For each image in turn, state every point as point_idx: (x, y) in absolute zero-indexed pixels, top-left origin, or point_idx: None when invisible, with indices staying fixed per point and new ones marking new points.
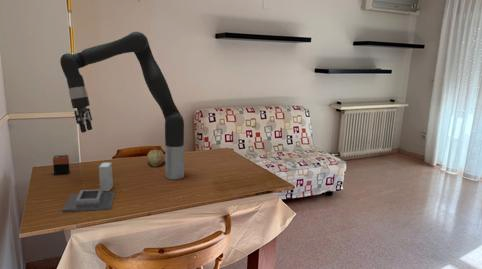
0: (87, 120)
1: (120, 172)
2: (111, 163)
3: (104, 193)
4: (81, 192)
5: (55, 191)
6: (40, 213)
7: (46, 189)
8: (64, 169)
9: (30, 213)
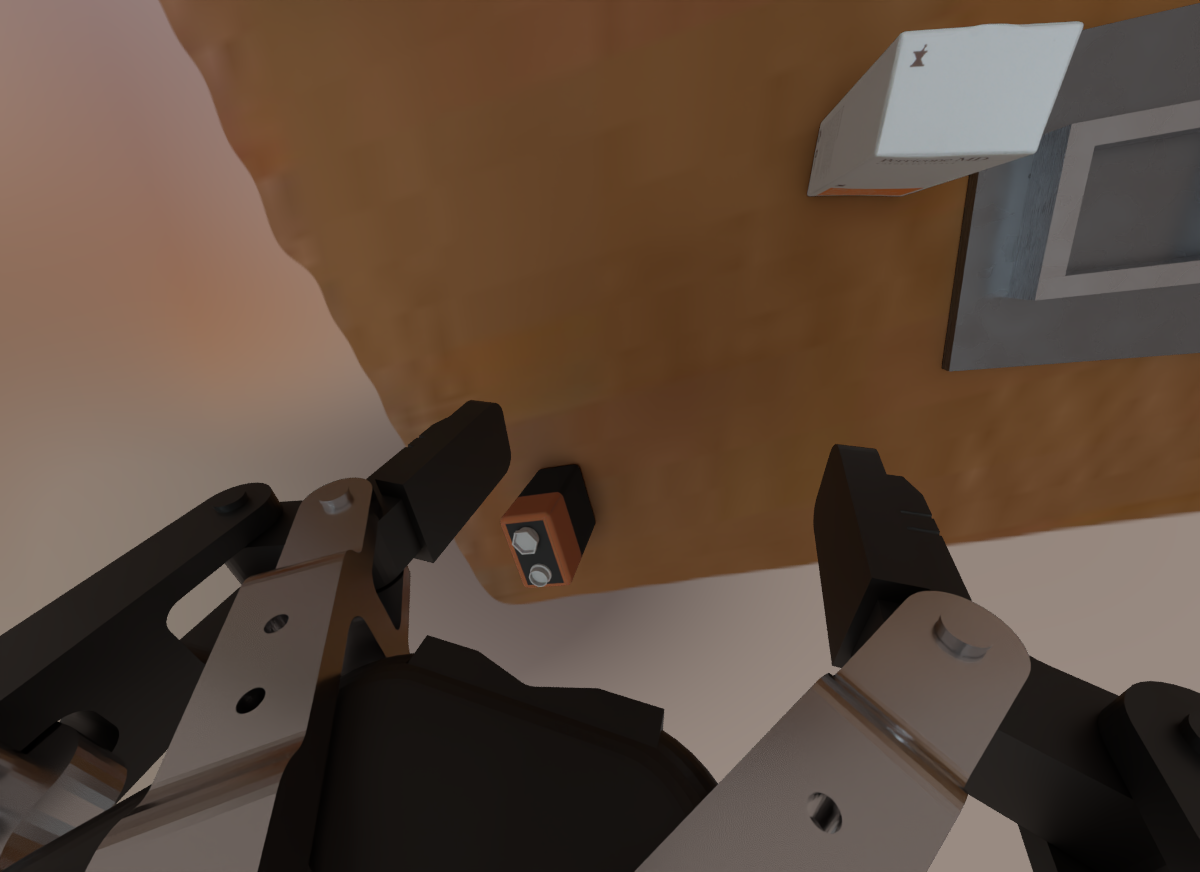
0: (373, 566)
1: (533, 152)
2: (908, 32)
3: None
4: (1091, 281)
5: None
6: (1189, 459)
7: (799, 512)
8: (577, 494)
9: (1161, 506)
